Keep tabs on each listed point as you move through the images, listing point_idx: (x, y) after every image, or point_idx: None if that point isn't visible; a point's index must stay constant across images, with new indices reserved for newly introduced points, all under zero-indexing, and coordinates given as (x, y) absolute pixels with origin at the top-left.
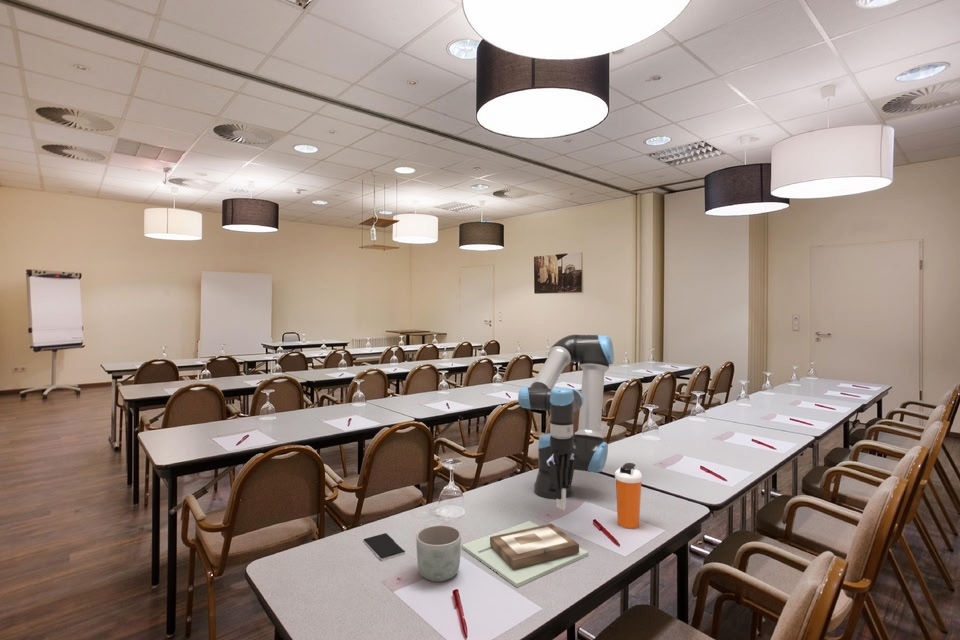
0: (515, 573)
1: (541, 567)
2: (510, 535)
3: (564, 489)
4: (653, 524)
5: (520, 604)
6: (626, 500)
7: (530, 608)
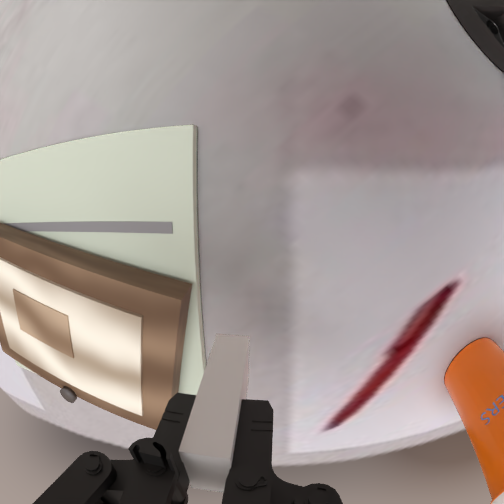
0: None
1: None
2: (9, 267)
3: (214, 490)
4: None
5: (21, 384)
6: (475, 448)
7: (31, 398)
